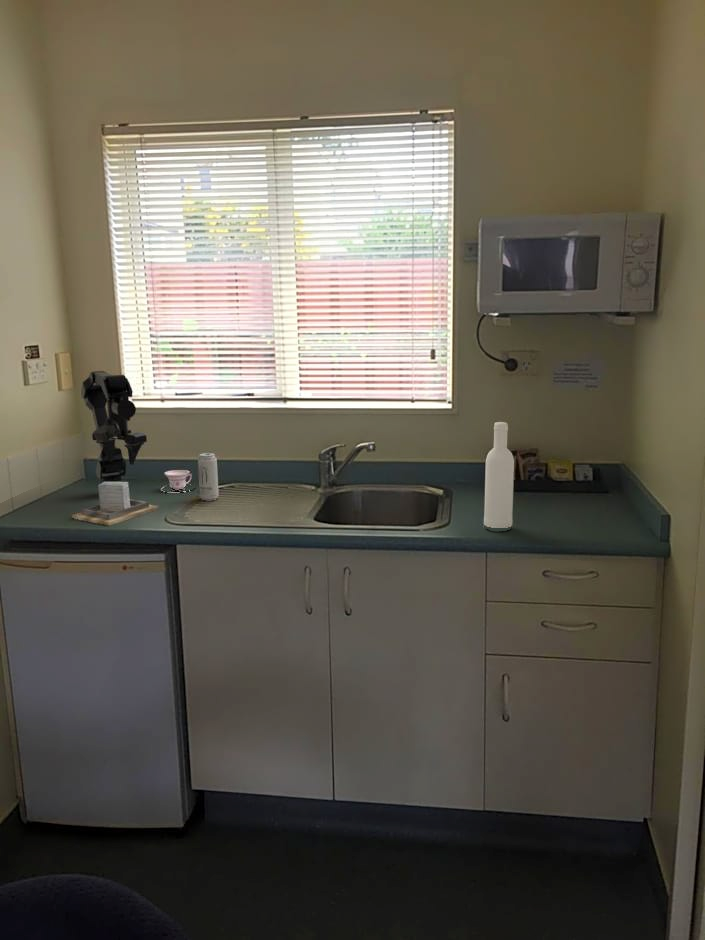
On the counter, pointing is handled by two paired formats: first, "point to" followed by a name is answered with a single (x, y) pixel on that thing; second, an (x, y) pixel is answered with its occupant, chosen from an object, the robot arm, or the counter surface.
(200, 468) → the energy drink can
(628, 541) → the counter surface
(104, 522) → the holder
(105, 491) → the medicine box
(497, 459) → the bottle
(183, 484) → the teacup
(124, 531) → the counter surface
